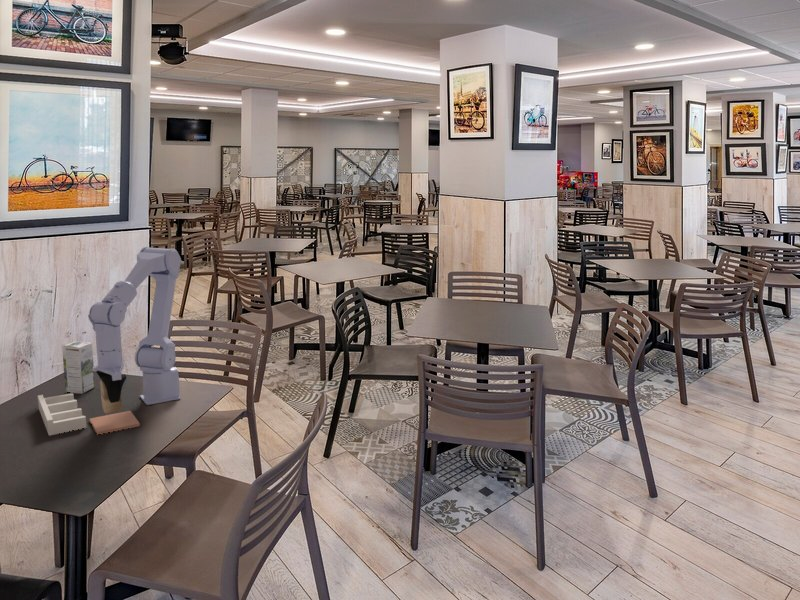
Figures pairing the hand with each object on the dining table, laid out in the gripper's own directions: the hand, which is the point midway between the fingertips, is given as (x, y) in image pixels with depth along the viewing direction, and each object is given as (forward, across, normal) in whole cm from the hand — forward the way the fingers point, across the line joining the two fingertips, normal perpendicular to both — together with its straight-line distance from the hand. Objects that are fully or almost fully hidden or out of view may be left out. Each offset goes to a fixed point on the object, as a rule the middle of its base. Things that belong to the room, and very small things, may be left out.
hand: (112, 398), depth 151 cm
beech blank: (+3, 0, 0) cm, 3 cm away
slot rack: (+7, -11, -11) cm, 17 cm away
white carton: (+7, -31, -3) cm, 32 cm away
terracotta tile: (+7, 0, 0) cm, 7 cm away
